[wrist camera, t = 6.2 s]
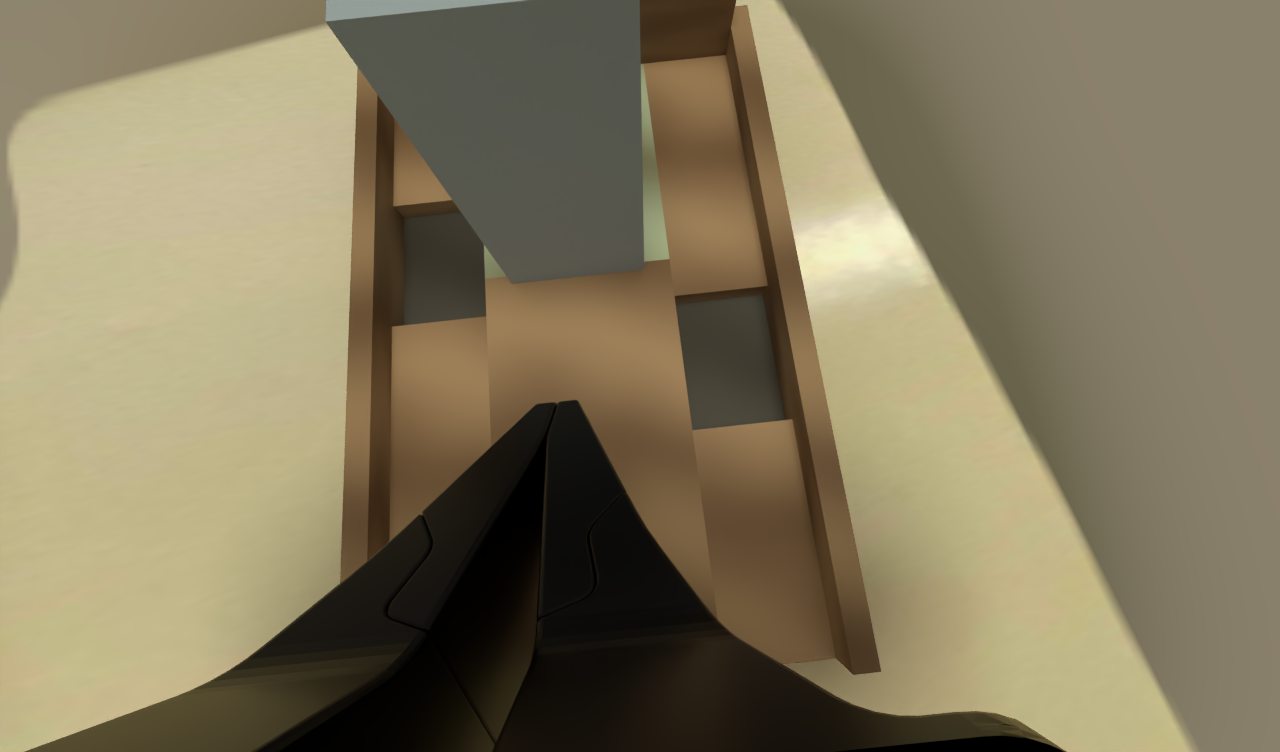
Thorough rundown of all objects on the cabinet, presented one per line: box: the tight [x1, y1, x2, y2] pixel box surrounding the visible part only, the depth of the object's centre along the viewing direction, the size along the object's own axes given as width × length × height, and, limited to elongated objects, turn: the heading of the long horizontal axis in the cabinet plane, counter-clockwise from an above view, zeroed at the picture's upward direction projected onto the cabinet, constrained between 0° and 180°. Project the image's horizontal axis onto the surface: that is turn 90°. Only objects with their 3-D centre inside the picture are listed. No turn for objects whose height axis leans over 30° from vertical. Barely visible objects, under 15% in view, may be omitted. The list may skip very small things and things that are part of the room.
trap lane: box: [340, 0, 881, 675], centre depth 16 cm, size 24×16×4 cm, turn 6°
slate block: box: [326, 0, 644, 284], centre depth 13 cm, size 8×5×10 cm, turn 6°
